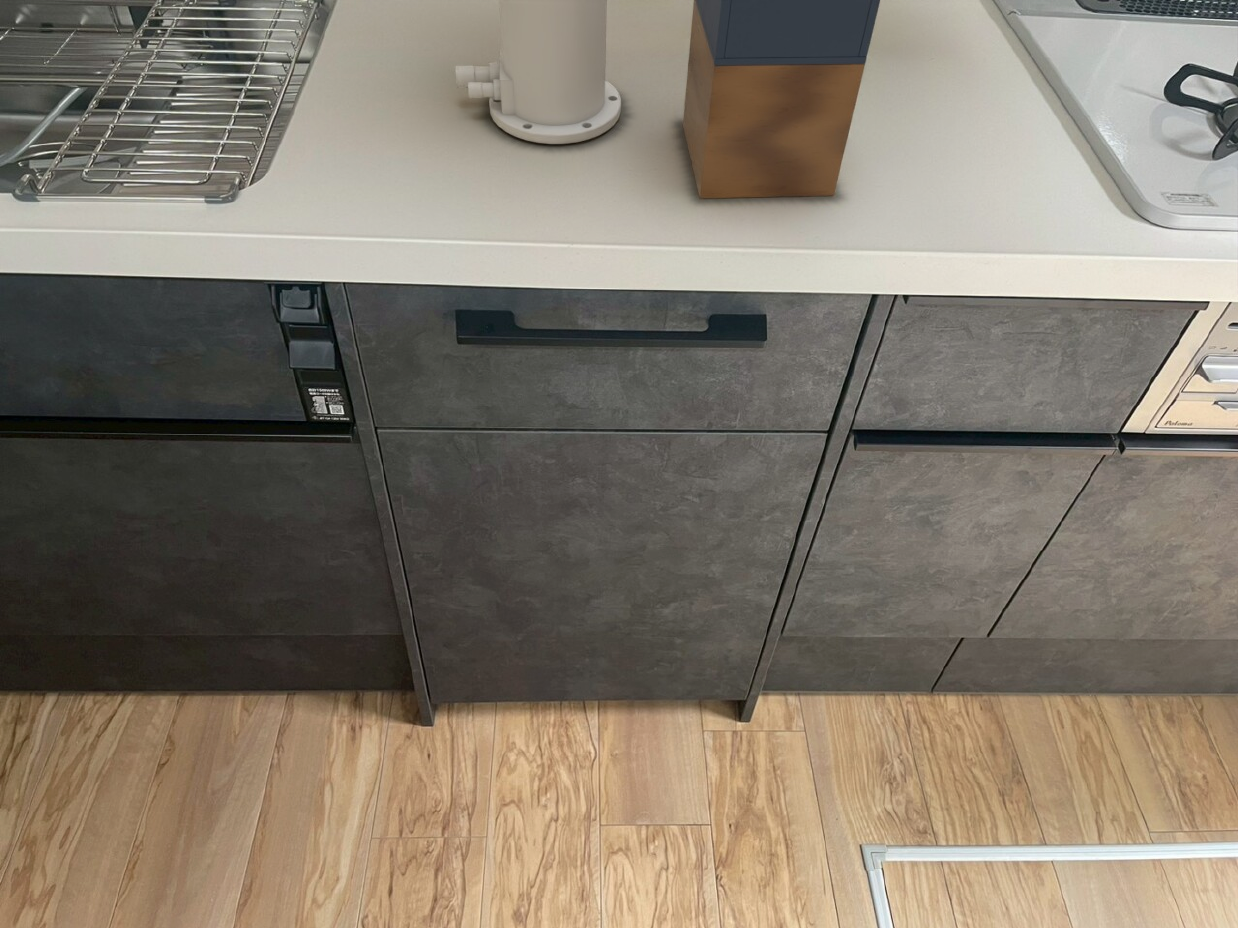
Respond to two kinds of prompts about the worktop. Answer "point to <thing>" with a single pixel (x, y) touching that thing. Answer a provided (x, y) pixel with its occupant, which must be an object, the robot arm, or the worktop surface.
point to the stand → (766, 124)
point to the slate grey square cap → (788, 31)
